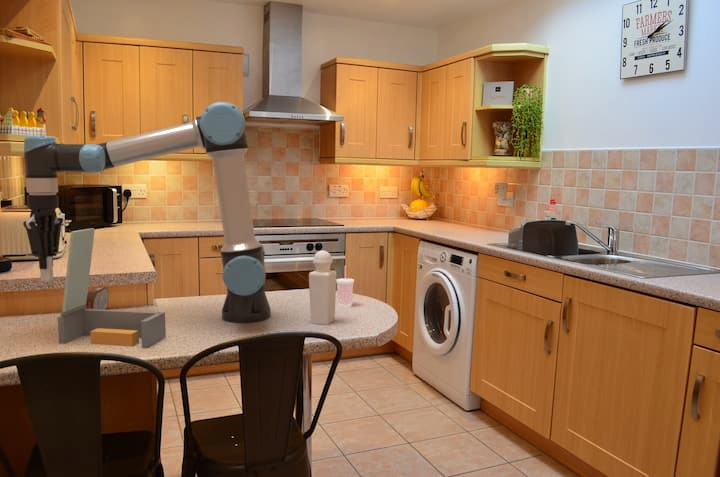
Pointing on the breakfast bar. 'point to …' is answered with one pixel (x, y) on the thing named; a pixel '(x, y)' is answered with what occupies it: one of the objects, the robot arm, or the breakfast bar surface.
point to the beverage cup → (345, 291)
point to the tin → (98, 298)
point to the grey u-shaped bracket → (113, 324)
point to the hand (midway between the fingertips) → (47, 280)
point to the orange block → (114, 337)
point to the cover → (78, 271)
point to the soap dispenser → (322, 289)
